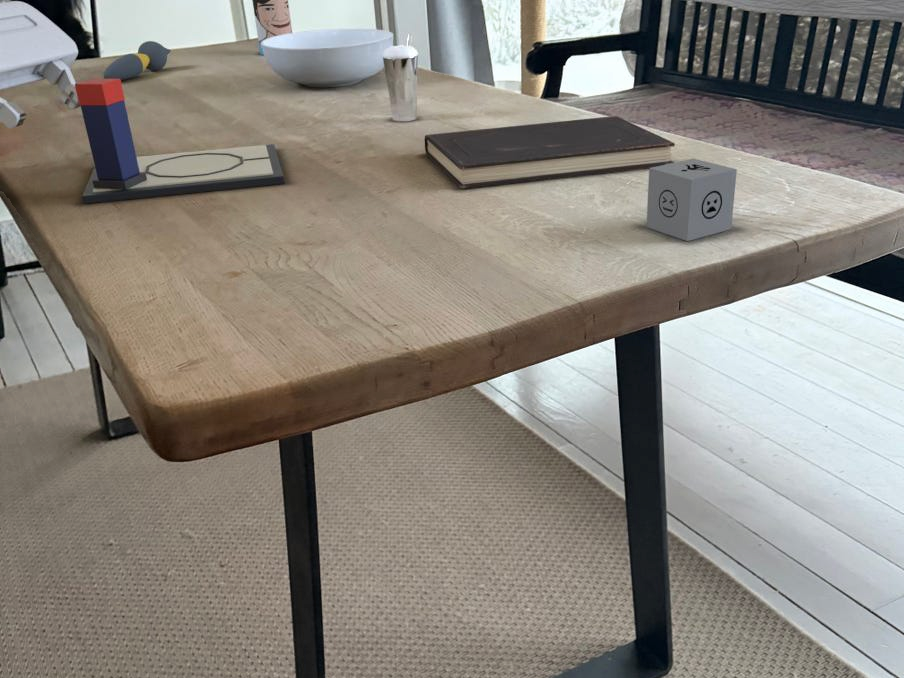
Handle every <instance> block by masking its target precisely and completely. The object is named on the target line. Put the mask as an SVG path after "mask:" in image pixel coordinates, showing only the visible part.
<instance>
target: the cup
mask: <svg viewBox="0 0 904 678" xmlns="http://www.w3.org/2000/svg"><path fill="white" fill-rule="evenodd" d="M252 7H253V15H254V21H255V27H256V34H257V42H258V48H259V53H260V55H262V56H264V54H263V50H262V47H261V42H262V41H263V40H265V39H268V38H271V37H274V36H278V35H283V34H289V33H293V27H292V20H291V13H290V3H289V0H252Z"/></svg>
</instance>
